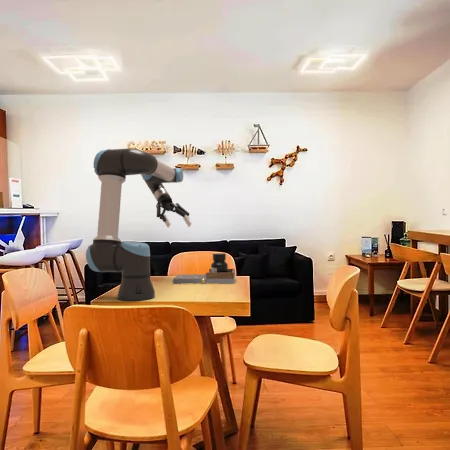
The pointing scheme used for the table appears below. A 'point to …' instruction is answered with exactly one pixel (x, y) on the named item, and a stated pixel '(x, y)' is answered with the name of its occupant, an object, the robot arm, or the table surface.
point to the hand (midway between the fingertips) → (180, 225)
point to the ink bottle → (219, 263)
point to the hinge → (200, 279)
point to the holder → (221, 275)
